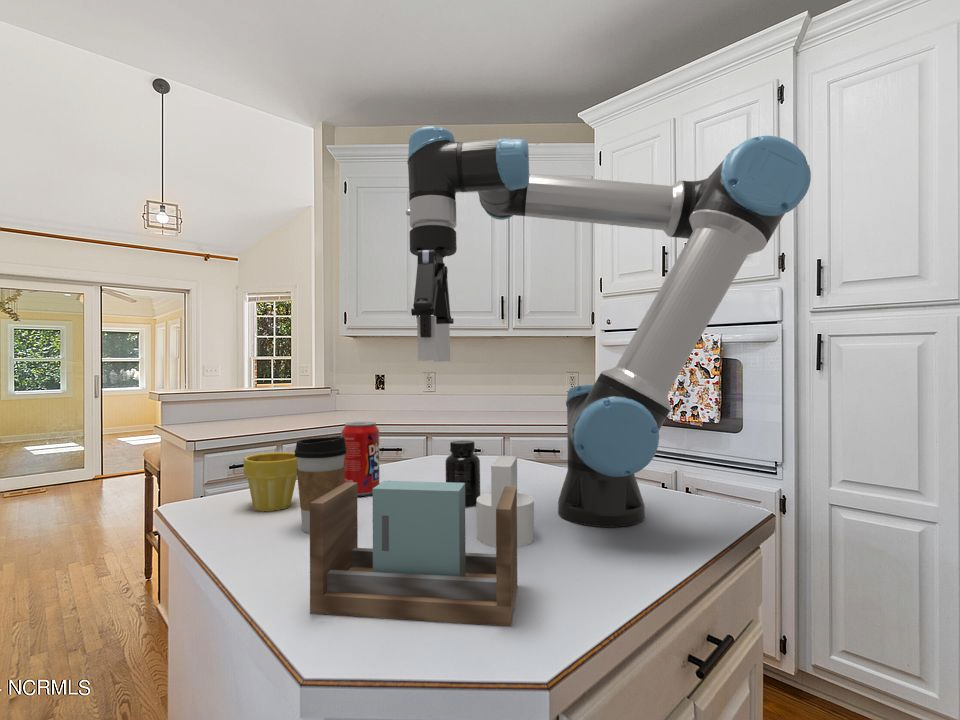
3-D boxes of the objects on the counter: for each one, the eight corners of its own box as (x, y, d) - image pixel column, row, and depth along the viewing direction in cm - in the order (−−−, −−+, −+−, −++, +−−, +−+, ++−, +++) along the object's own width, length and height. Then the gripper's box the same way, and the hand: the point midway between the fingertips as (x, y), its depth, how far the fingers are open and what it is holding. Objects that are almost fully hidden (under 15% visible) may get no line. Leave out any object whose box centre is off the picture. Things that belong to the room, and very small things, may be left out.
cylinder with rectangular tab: (531, 549, 74) (531, 467, 74) (471, 546, 76) (471, 465, 76) (535, 529, 83) (535, 456, 83) (481, 527, 85) (481, 455, 85)
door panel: (465, 575, 60) (465, 482, 60) (459, 590, 56) (459, 491, 56) (384, 571, 61) (384, 480, 62) (372, 585, 57) (372, 488, 57)
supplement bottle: (487, 501, 101) (486, 440, 101) (468, 509, 95) (467, 445, 95) (458, 496, 104) (458, 438, 104) (438, 504, 98) (438, 442, 99)
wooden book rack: (517, 584, 62) (516, 486, 62) (511, 626, 52) (510, 509, 52) (346, 575, 65) (346, 482, 65) (310, 613, 55) (309, 503, 55)
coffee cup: (332, 537, 80) (331, 442, 80) (283, 534, 81) (283, 441, 82) (355, 521, 88) (355, 435, 88) (311, 519, 90) (311, 434, 90)
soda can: (334, 493, 108) (334, 422, 108) (367, 486, 113) (367, 419, 113) (353, 500, 102) (352, 425, 102) (386, 493, 107) (386, 422, 108)
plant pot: (312, 503, 100) (312, 453, 100) (271, 517, 91) (271, 462, 91) (274, 497, 104) (274, 450, 105) (231, 510, 95) (231, 458, 95)
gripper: (424, 248, 94) (426, 362, 94) (389, 205, 69) (392, 360, 69) (464, 246, 94) (467, 361, 93) (444, 203, 69) (446, 359, 68)
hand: (435, 361), depth 81 cm, fingers open, 13 cm apart
